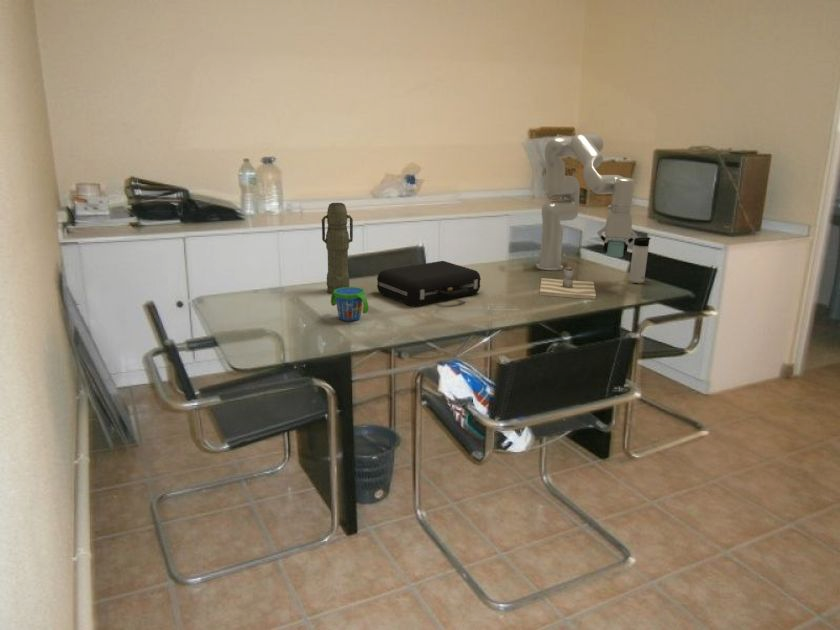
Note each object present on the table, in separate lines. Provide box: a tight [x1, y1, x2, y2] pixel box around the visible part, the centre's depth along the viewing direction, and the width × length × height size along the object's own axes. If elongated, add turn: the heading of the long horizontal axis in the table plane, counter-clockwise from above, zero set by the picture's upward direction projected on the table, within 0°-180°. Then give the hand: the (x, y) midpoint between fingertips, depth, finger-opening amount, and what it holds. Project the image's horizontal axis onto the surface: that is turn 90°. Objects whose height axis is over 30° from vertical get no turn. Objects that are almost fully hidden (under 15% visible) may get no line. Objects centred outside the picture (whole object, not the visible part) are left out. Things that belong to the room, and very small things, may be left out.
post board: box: [539, 266, 597, 300], centre depth 271 cm, size 22×22×10 cm
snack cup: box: [330, 286, 369, 322], centre depth 228 cm, size 16×10×10 cm
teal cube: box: [605, 238, 625, 258], centre depth 267 cm, size 6×6×6 cm
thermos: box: [321, 202, 354, 295], centre depth 257 cm, size 9×12×35 cm
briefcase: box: [376, 260, 482, 307], centre depth 258 cm, size 36×32×10 cm
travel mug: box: [628, 236, 651, 284], centre depth 284 cm, size 6×7×20 cm
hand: (614, 252), depth 268 cm, fingers closed on teal cube, 6 cm apart
